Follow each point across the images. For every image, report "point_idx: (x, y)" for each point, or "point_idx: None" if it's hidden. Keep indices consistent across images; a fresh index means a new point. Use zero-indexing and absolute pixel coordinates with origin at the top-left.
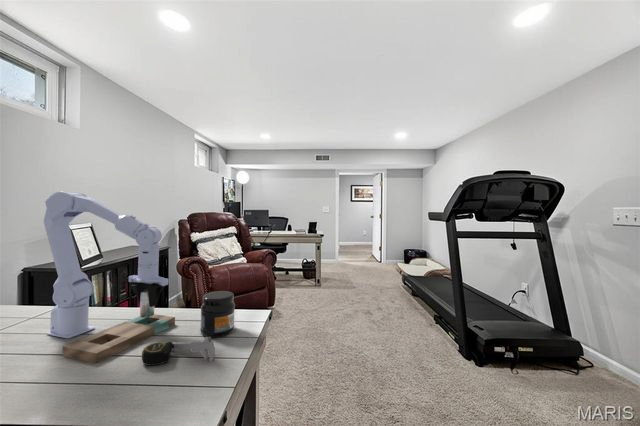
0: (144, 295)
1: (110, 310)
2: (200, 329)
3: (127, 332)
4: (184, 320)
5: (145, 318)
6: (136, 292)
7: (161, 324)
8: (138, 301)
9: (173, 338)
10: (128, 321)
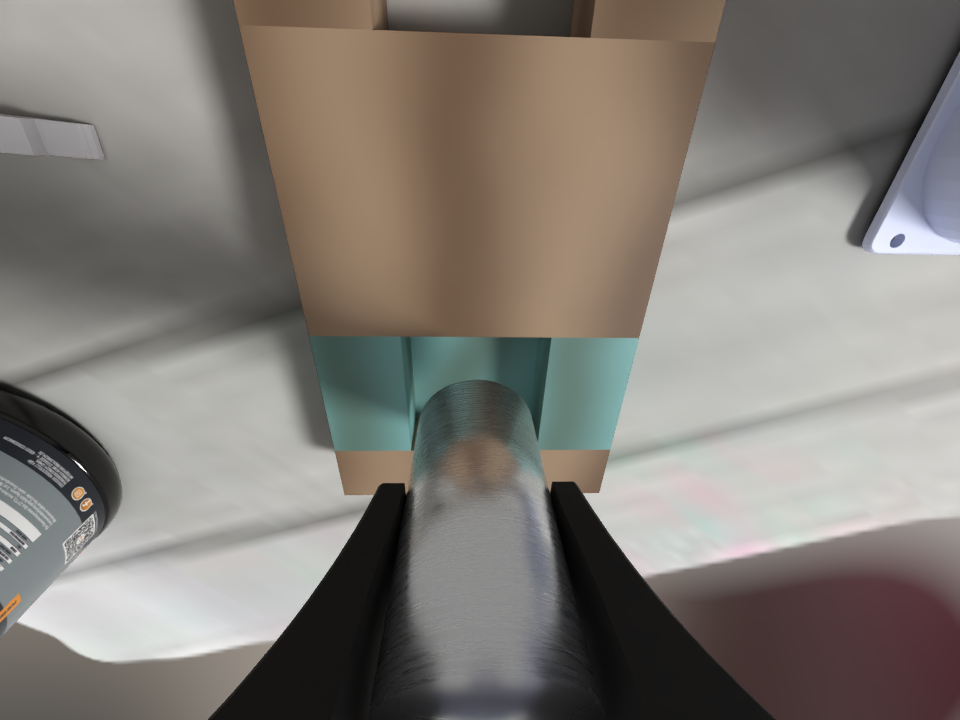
0: (440, 620)
1: (924, 489)
2: (19, 420)
3: (407, 144)
4: (360, 507)
5: (538, 430)
6: (662, 661)
7: (325, 389)
8: (585, 516)
9: (141, 299)
10: (615, 346)
